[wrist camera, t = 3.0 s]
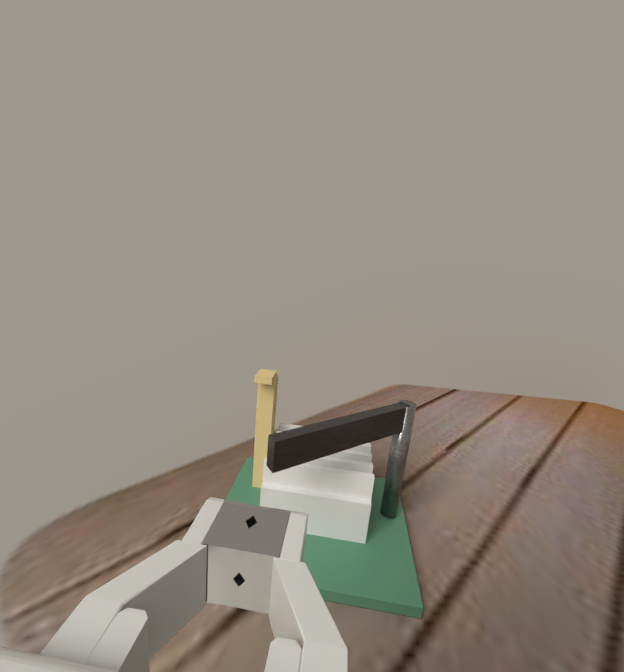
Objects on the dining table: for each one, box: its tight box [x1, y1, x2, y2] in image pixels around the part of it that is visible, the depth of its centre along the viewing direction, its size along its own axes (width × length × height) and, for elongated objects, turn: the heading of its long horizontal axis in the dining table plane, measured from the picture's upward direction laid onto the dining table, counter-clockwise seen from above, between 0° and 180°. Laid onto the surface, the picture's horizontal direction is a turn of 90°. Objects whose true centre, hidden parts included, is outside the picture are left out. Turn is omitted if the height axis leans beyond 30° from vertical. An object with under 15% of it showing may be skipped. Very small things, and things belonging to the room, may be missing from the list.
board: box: [225, 369, 423, 618], centre depth 38 cm, size 22×18×17 cm
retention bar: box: [266, 400, 416, 518], centre depth 35 cm, size 18×2×14 cm, turn 123°
